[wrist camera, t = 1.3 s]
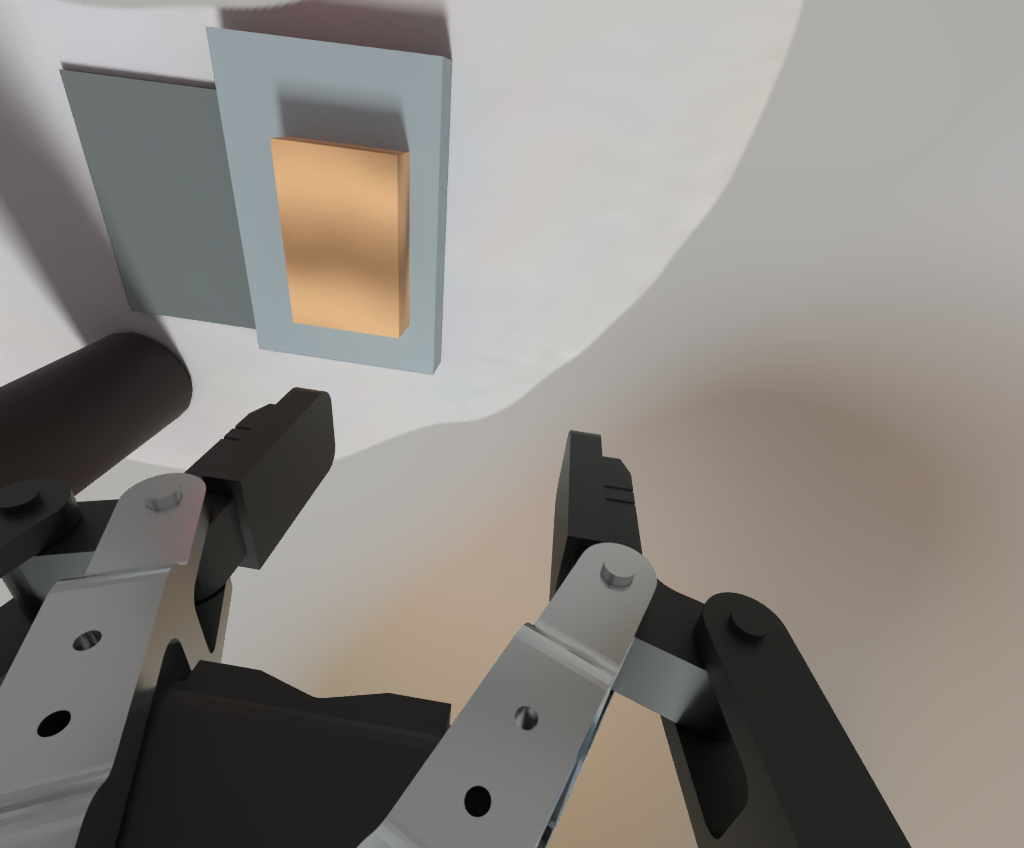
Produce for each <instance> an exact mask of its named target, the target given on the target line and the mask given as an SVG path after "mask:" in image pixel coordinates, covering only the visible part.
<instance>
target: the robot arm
mask: <svg viewBox="0 0 1024 848" xmlns="http://www.w3.org/2000/svg"><path fill="white" fill-rule="evenodd" d="M334 454H335V438H334V427H333V416H332V405H331V398H330V395H329V394H328V393H327V392H324V391H318V390H311V389H305V388H298V387H295V388H293V389H291V390H290V391H289V392H288V393H287V394H286V395H285V396H284V397H283V398H282V399H281V400H280V401H279V402H278V403H277V404H276V405H275V404H268V405H266V406H264V407H262V408H260V409H258V410H256V411H253V412H251V413H249V414H248V415H247V416H246V417H245V418H244V419H243V420H242V421H240V422H239V423H238V424H237V425H236V428H235V429H232V430H231V431H230V432H228V433H227V434H226V435H225V436H224V439H221V440H220V441H219V442H217V443H216V444H215V445H214V446H213V447H212V448H211V449H210V450H209V451H208V452H207V453H205V454H204V455H203V456H202V457H201V458H200V459H199V460H198V461H197V462H196V463H194V464H193V465H192V466H191V467H190V468H189V469H188V470H187V471H186V472H185V473H170V474H163V475H158V476H155V477H151V478H148V479H146V480H144V481H141V482H139V483H137V484H136V485H134V486H132V487H131V488H130V489H128V490H127V491H126V492H125V493H124V494H123V495H122V496H121V497H120V499H117V500H101V501H86V502H76V499H75V497H74V495H73V493H72V490H71V488H70V487H69V485H68V484H66V483H65V482H62V481H60V480H55V479H34V480H27V481H22V482H18V483H14V484H11V485H8V486H5V487H3V488H0V578H2V579H3V581H4V583H5V584H6V586H7V587H8V589H9V591H10V592H11V594H12V595H13V597H14V598H13V599H11V600H10V601H8V602H7V603H6V604H4V605H3V606H2V607H0V848H547V846H548V844H549V841H550V839H551V837H552V835H553V832H554V830H555V828H556V826H557V823H558V821H559V819H560V816H561V814H562V812H563V810H564V807H565V805H566V803H567V801H568V798H569V796H570V793H571V791H572V789H573V786H574V784H575V781H576V779H577V777H578V774H579V772H580V770H581V767H582V765H583V762H584V760H585V758H586V756H587V754H588V751H589V749H590V747H591V745H592V742H593V740H594V738H595V736H596V734H597V731H598V729H599V727H600V724H601V722H602V720H603V718H604V716H605V713H606V711H607V709H608V707H609V704H610V702H611V700H612V698H613V695H614V693H615V692H617V693H619V694H621V695H623V696H625V697H627V698H629V699H631V700H633V701H635V702H636V703H638V704H641V705H642V706H644V707H646V708H648V709H650V710H652V711H654V712H656V713H658V714H660V715H661V719H662V723H663V726H664V730H665V733H666V737H667V740H668V744H669V747H670V751H671V754H672V758H673V761H674V765H675V768H676V772H677V775H678V779H679V782H680V786H681V789H682V793H683V796H684V800H685V803H686V807H687V810H688V813H689V817H690V821H691V824H692V828H693V831H694V835H695V838H696V842H697V845H698V848H911V846H910V844H909V842H908V841H907V839H906V837H905V835H904V834H903V832H902V830H901V829H900V827H899V825H898V823H897V822H896V820H895V818H894V816H893V815H892V813H891V811H890V809H889V807H888V806H887V804H886V802H885V800H884V799H883V797H882V795H881V793H880V792H879V790H878V788H877V787H876V785H875V783H874V781H873V779H872V778H871V776H870V774H869V773H868V771H867V769H866V767H865V765H864V764H863V762H862V760H861V759H860V757H859V755H858V753H857V751H856V750H855V748H854V746H853V745H852V743H851V741H850V739H849V737H848V736H847V734H846V732H845V731H844V729H843V727H842V725H841V724H840V722H839V720H838V718H837V717H836V715H835V713H834V711H833V710H832V708H831V706H830V704H829V703H828V701H827V699H826V697H825V695H824V694H823V692H822V690H821V689H820V687H819V685H818V683H817V681H816V680H815V678H814V676H813V675H812V673H811V671H810V669H809V667H808V666H807V664H806V662H805V661H804V659H803V657H802V655H801V653H800V652H799V650H798V648H797V646H796V645H795V643H794V641H793V639H792V638H791V636H790V634H789V633H788V631H787V629H786V627H785V626H784V624H783V623H782V621H781V620H780V619H779V618H778V617H777V616H776V615H775V614H774V613H773V612H772V611H771V610H770V609H768V608H767V607H766V606H765V605H763V604H761V603H760V602H758V601H756V600H754V599H752V598H750V597H747V596H745V595H742V594H737V593H730V592H727V593H719V594H716V595H714V596H712V597H710V598H709V599H708V600H707V602H706V603H705V604H704V603H701V602H699V601H697V600H694V599H692V598H690V597H687V596H685V595H683V594H680V593H678V592H676V591H674V590H672V589H671V588H669V587H667V586H666V585H664V584H663V583H662V582H660V581H659V580H658V579H657V577H656V573H655V571H654V568H653V567H652V565H651V564H650V563H649V561H648V560H647V559H646V558H645V557H644V556H643V555H642V550H641V542H640V535H639V528H638V522H637V514H636V508H635V506H634V505H635V500H634V493H633V486H632V479H631V474H630V472H629V471H628V469H627V468H626V467H625V465H624V464H623V463H622V461H621V460H620V459H616V458H609V457H603V456H602V446H601V435H598V434H592V433H585V432H579V431H572V430H570V431H569V434H568V438H567V443H566V448H565V453H564V458H563V463H562V468H561V473H560V478H559V483H558V488H557V495H556V503H555V518H554V533H553V534H554V535H553V549H552V550H553V551H552V566H551V583H550V598H549V604H548V605H547V607H546V608H545V610H544V611H543V613H542V614H541V616H540V618H539V619H538V620H537V621H536V622H535V624H534V625H531V624H530V623H526V624H524V625H523V626H522V627H521V628H520V629H519V630H518V632H517V633H516V635H515V636H514V637H513V639H512V640H511V641H510V643H509V644H508V646H507V647H506V649H505V650H504V651H503V653H502V654H501V656H500V657H499V658H498V660H497V661H496V663H495V664H494V665H493V667H492V668H491V670H490V671H489V673H488V674H487V675H486V677H485V678H484V680H483V681H482V683H481V684H480V685H479V687H478V688H477V690H476V691H475V692H474V694H473V695H472V697H471V698H470V700H469V701H468V702H467V704H466V705H465V707H464V708H463V710H462V711H461V712H460V714H459V715H458V717H457V718H456V719H455V721H454V722H453V724H452V725H450V712H451V704H448V703H443V702H437V701H431V700H425V699H420V698H414V697H409V696H403V695H397V694H392V693H382V694H370V695H357V696H345V697H333V698H316V697H312V696H310V695H308V694H306V693H304V692H302V691H300V690H298V689H296V688H294V687H292V686H290V685H289V684H287V683H284V682H282V681H280V680H279V679H277V678H275V677H273V676H271V675H269V674H267V673H265V672H263V671H261V670H255V669H250V668H244V667H238V666H233V665H227V664H221V658H222V652H223V646H224V640H225V633H226V627H227V620H228V614H229V607H230V601H231V594H232V582H231V579H230V576H231V575H232V573H233V572H234V571H235V570H236V568H237V567H238V566H241V567H247V568H252V569H258V570H259V569H261V567H262V566H263V564H264V563H265V561H266V560H267V559H268V557H269V556H270V554H271V553H272V551H273V550H274V549H275V547H276V546H277V544H278V543H279V541H280V540H281V539H282V537H283V536H284V534H285V533H286V531H287V530H288V528H289V527H290V526H291V524H292V523H293V521H294V520H295V519H296V517H297V516H298V514H299V513H300V511H301V510H302V508H303V507H304V506H305V504H306V503H307V501H308V500H309V498H310V497H311V495H312V494H313V492H314V491H315V490H316V488H317V487H318V486H319V484H320V483H321V481H322V480H323V478H324V477H325V476H326V474H327V473H328V471H329V470H330V468H331V465H332V463H333V459H334Z"/></svg>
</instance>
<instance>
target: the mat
mask: <svg viewBox="0 0 1024 848" xmlns="http://www.w3.org/2000/svg"><path fill="white" fill-rule="evenodd" d="M59 71H60V74H61V77H62V81H63V84H64V87H65V91H66V94H67V97H68V101H69V104H70V108H71V111H72V114H73V118H74V121H75V124H76V128H77V131H78V134H79V138H80V141H81V144H82V148H83V151H84V154H85V158H86V161H87V164H88V168H89V171H90V174H91V178H92V181H93V184H94V188H95V191H96V194H97V198H98V201H99V204H100V208H101V211H102V215H103V218H104V221H105V225H106V228H107V231H108V235H109V238H110V241H111V245H112V248H113V251H114V255H115V258H116V261H117V265H118V268H119V271H120V275H121V278H122V281H123V285H124V288H125V291H126V295H127V298H128V301H129V305H130V308H131V310H132V311H138V312H145V313H152V314H159V315H165V316H172V317H179V318H185V319H192V320H199V321H206V322H212V323H219V324H226V325H232V326H239V327H246V328H253V329H256V325H255V319H254V313H253V307H252V301H251V295H250V289H249V283H248V277H247V271H246V265H245V259H244V253H243V247H242V241H241V235H240V229H239V223H238V217H237V211H236V205H235V199H234V193H233V187H232V181H231V175H230V169H229V163H228V157H227V151H226V145H225V139H224V133H223V127H222V121H221V115H220V109H219V103H218V97H217V91H216V90H215V89H207V88H199V87H192V86H184V85H176V84H169V83H161V82H153V81H146V80H138V79H131V78H123V77H115V76H108V75H100V74H92V73H85V72H77V71H69V70H60V69H59Z"/></svg>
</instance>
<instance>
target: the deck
mask: <svg viewBox="0 0 1024 848" xmlns="http://www.w3.org/2000/svg"><path fill="white" fill-rule="evenodd" d="M206 31H207V37H208V43H209V49H210V55H211V61H212V67H213V73H214V79H215V85H216V91H217V97H218V103H219V109H220V115H221V121H222V127H223V133H224V139H225V145H226V151H227V157H228V163H229V169H230V175H231V181H232V187H233V193H234V199H235V205H236V211H237V217H238V223H239V229H240V235H241V241H242V247H243V253H244V259H245V265H246V271H247V277H248V283H249V289H250V295H251V301H252V307H253V313H254V319H255V325H256V331H257V337H258V343H259V349H263V350H270V351H276V352H283V353H290V354H296V355H303V356H310V357H316V358H323V359H330V360H336V361H343V362H350V363H356V364H363V365H370V366H376V367H383V368H389V369H396V370H403V371H409V372H416V373H423V374H429V375H433V374H434V373H435V371H436V369H437V367H438V365H439V364H440V362H441V339H442V312H443V286H444V260H445V233H446V207H447V181H448V154H449V128H450V102H451V75H452V60H450V59H448V58H446V57H443V56H436V55H428V54H420V53H412V52H404V51H397V50H389V49H381V48H373V47H365V46H357V45H349V44H341V43H333V42H325V41H317V40H309V39H301V38H293V37H285V36H278V35H270V34H262V33H254V32H246V31H238V30H230V29H222V28H214V27H206ZM290 136H292V137H299V138H307V139H314V140H322V141H329V142H336V143H344V144H351V145H359V146H366V147H374V148H381V149H389V150H396V151H404V152H410V200H409V326H408V328H407V329H406V330H405V331H404V333H403V334H402V335H401V336H400V338H393V337H387V336H380V335H373V334H366V333H360V332H353V331H346V330H339V329H333V328H326V327H319V326H312V325H306V324H299V323H293V317H292V309H291V301H290V293H289V286H288V278H287V270H286V262H285V254H284V246H283V238H282V230H281V222H280V214H279V206H278V198H277V190H276V182H275V174H274V166H273V158H272V150H271V142H270V138H278V137H290Z"/></svg>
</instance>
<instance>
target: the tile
mask: <svg viewBox="0 0 1024 848" xmlns="http://www.w3.org/2000/svg"><path fill="white" fill-rule="evenodd" d="M270 142H271V150H272V158H273V166H274V174H275V182H276V190H277V198H278V206H279V214H280V222H281V230H282V238H283V246H284V254H285V262H286V270H287V278H288V286H289V293H290V301H291V309H292V317H293V323H299V324H306V325H312V326H319V327H326V328H333V329H339V330H346V331H353V332H360V333H366V334H373V335H380V336H387V337H393V338H400V336H401V335H402V334H403V333H404V331H405V330H406V329H407V328H408V326H409V200H410V152H404V151H396V150H389V149H381V148H374V147H366V146H359V145H351V144H344V143H336V142H329V141H322V140H314V139H307V138H299V137H292V136H290V137H278V138H270Z"/></svg>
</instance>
